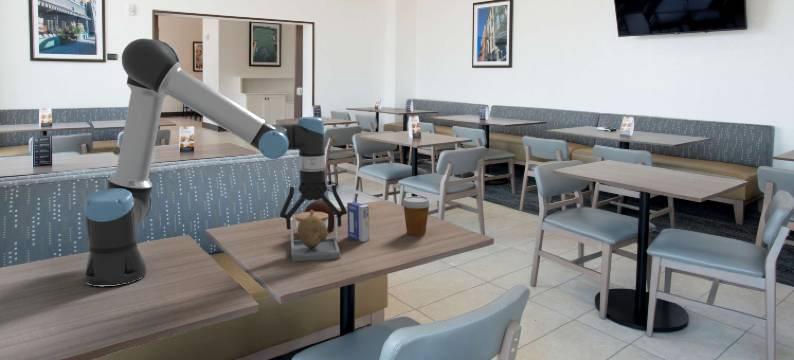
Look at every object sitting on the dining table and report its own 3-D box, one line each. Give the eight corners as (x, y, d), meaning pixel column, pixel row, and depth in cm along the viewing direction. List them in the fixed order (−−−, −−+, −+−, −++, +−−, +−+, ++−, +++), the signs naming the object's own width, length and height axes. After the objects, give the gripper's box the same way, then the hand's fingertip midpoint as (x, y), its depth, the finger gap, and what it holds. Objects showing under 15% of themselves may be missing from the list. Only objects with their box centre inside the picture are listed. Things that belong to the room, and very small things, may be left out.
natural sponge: (317, 241, 186) (316, 211, 184) (334, 247, 179) (333, 216, 177) (293, 247, 180) (291, 216, 178) (309, 254, 173) (307, 221, 171)
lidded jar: (303, 244, 187) (302, 215, 186) (291, 236, 196) (290, 209, 195) (334, 239, 193) (333, 211, 191) (320, 232, 202) (320, 205, 200)
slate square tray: (292, 261, 172) (291, 254, 172) (291, 247, 185) (291, 240, 185) (339, 258, 175) (339, 251, 174) (335, 244, 188) (335, 237, 188)
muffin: (298, 230, 204) (296, 202, 202) (320, 222, 212) (319, 195, 210) (322, 236, 197) (321, 207, 195) (345, 228, 205) (344, 200, 203)
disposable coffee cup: (419, 239, 194) (419, 203, 191) (396, 234, 199) (396, 199, 197) (435, 232, 201) (435, 198, 199) (412, 228, 207) (413, 194, 204)
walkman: (347, 237, 196) (347, 202, 194) (354, 235, 198) (353, 200, 196) (362, 242, 191) (362, 206, 188) (369, 240, 192) (369, 204, 190)
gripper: (269, 172, 169) (272, 244, 173) (355, 169, 174) (356, 239, 178) (270, 168, 176) (273, 236, 180) (352, 165, 181) (353, 232, 185)
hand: (314, 238), depth 179 cm, fingers open, 13 cm apart
